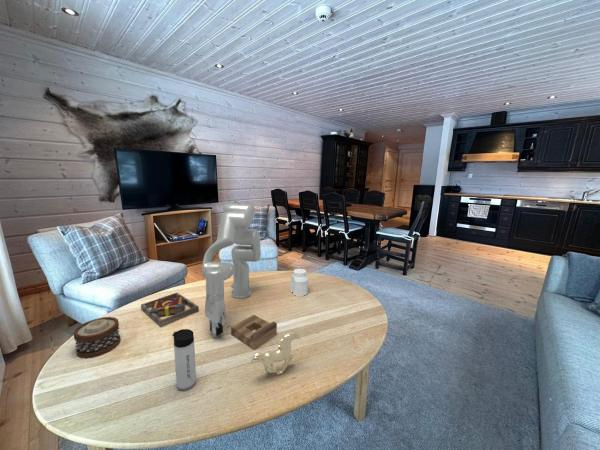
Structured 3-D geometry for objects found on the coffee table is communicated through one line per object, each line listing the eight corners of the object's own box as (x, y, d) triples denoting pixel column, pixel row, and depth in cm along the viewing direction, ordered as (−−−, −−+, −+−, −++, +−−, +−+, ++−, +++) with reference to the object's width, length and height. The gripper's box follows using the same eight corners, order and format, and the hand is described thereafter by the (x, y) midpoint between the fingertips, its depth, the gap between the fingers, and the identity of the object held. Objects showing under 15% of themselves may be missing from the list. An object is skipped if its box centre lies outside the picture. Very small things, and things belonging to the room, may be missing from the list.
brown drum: (113, 329, 97) (64, 338, 91) (116, 353, 99) (68, 363, 93) (123, 311, 110) (81, 317, 104) (125, 332, 112) (84, 339, 106)
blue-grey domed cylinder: (210, 336, 112) (209, 320, 110) (218, 332, 115) (217, 317, 113) (215, 340, 109) (214, 324, 108) (222, 335, 112) (222, 320, 111)
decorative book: (154, 308, 134) (153, 300, 133) (186, 302, 140) (185, 294, 139) (150, 319, 124) (149, 310, 123) (185, 313, 130) (184, 304, 129)
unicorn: (252, 387, 85) (251, 344, 82) (248, 379, 89) (248, 337, 86) (301, 368, 95) (303, 328, 92) (296, 361, 98) (298, 323, 95)
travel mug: (180, 376, 89) (176, 327, 85) (198, 376, 89) (196, 327, 86) (172, 391, 83) (168, 339, 79) (192, 390, 83) (189, 338, 79)
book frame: (141, 309, 132) (140, 304, 131) (177, 297, 147) (177, 292, 146) (160, 327, 117) (160, 321, 116) (198, 311, 132) (198, 306, 131)
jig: (231, 334, 113) (230, 323, 112) (253, 321, 124) (253, 310, 123) (253, 350, 104) (253, 337, 103) (276, 334, 115) (276, 323, 114)
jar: (309, 295, 155) (310, 273, 152) (295, 297, 151) (296, 275, 148) (301, 287, 165) (302, 267, 162) (288, 290, 161) (289, 268, 158)
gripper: (197, 292, 110) (199, 328, 114) (218, 304, 100) (220, 344, 104) (212, 286, 116) (213, 321, 120) (233, 298, 106) (234, 335, 109)
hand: (216, 331), depth 112 cm, fingers closed on blue-grey domed cylinder, 4 cm apart
